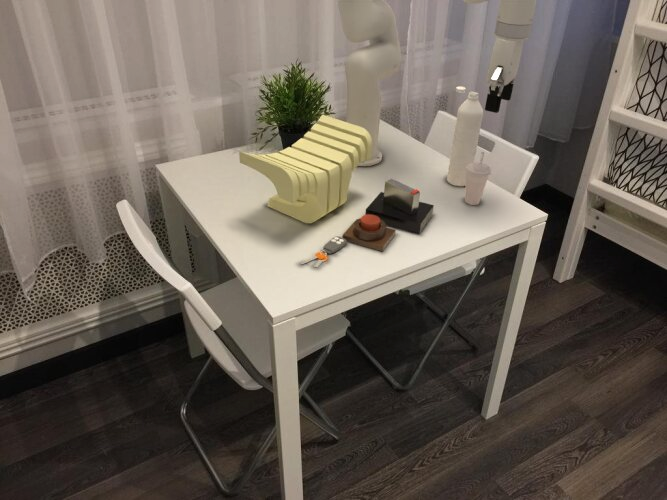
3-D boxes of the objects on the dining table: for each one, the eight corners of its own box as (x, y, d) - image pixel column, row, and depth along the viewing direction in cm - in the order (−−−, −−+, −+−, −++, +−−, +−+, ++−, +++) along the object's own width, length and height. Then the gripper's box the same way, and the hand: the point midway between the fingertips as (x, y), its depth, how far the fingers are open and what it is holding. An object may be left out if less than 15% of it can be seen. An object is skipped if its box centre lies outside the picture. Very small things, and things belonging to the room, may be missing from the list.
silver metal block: (383, 201, 145) (385, 180, 142) (389, 198, 147) (391, 177, 143) (411, 215, 140) (414, 194, 137) (417, 212, 141) (420, 190, 138)
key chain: (334, 239, 136) (335, 233, 135) (348, 244, 134) (348, 239, 133) (300, 264, 127) (300, 259, 126) (314, 271, 125) (314, 265, 125)
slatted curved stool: (293, 242, 134) (293, 172, 124) (243, 219, 142) (239, 151, 132) (368, 194, 154) (373, 130, 144) (320, 176, 162) (322, 114, 152)
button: (357, 228, 134) (357, 221, 133) (364, 219, 138) (365, 212, 137) (375, 233, 133) (375, 226, 132) (382, 224, 136) (383, 217, 135)
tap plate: (364, 219, 144) (365, 209, 142) (380, 202, 151) (381, 191, 150) (419, 234, 139) (420, 223, 137) (432, 215, 146) (433, 205, 145)
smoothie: (470, 209, 150) (479, 159, 142) (454, 198, 154) (463, 149, 146) (489, 204, 152) (500, 154, 144) (474, 193, 157) (483, 144, 149)
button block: (342, 240, 136) (342, 227, 134) (356, 224, 142) (357, 211, 140) (382, 252, 132) (383, 238, 130) (395, 235, 138) (396, 222, 136)
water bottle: (475, 182, 162) (492, 94, 148) (459, 189, 159) (475, 98, 145) (451, 170, 168) (465, 84, 154) (435, 176, 164) (448, 88, 150)
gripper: (506, 20, 137) (492, 91, 147) (484, 35, 124) (470, 113, 134) (539, 24, 134) (522, 97, 144) (519, 41, 121) (503, 120, 131)
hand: (497, 105), depth 139 cm, fingers open, 9 cm apart
